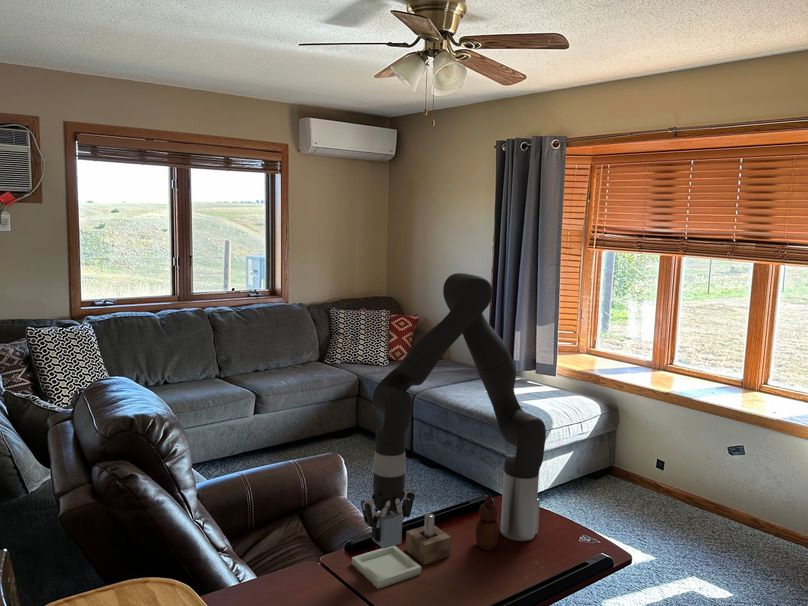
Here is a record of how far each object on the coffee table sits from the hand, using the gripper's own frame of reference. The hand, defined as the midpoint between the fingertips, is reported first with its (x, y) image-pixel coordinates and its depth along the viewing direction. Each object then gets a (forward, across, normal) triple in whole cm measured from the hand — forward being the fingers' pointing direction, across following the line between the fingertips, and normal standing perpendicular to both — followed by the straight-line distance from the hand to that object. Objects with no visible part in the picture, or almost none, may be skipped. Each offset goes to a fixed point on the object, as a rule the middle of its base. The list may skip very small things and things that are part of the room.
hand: (386, 537), depth 152 cm
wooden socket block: (+8, +13, +1) cm, 15 cm away
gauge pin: (+8, +13, +1) cm, 15 cm away
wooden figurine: (+8, +28, -4) cm, 30 cm away
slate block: (+1, 0, 0) cm, 1 cm away
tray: (+8, 0, 0) cm, 8 cm away
